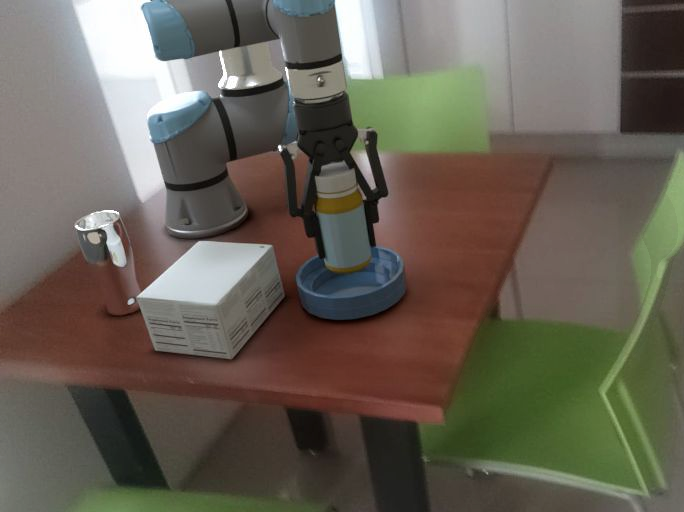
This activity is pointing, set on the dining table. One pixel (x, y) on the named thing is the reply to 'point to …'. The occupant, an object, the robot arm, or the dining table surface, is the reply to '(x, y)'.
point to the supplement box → (212, 299)
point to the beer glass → (110, 259)
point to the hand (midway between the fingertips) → (346, 248)
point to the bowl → (352, 286)
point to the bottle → (341, 219)
